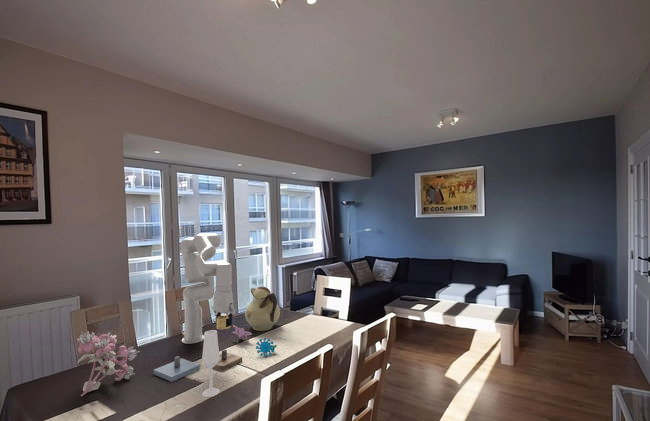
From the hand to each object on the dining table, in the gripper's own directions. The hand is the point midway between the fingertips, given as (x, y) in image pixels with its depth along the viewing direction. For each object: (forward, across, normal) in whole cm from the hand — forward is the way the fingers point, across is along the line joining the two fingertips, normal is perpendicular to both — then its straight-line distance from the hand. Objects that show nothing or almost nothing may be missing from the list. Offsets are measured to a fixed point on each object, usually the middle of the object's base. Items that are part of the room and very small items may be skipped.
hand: (223, 324), depth 156 cm
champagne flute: (+18, +18, -21) cm, 33 cm away
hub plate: (+19, -12, -17) cm, 28 cm away
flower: (+19, -26, -38) cm, 50 cm away
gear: (+19, +11, +18) cm, 28 cm away
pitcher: (+19, -20, +49) cm, 56 cm away
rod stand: (+18, 0, 0) cm, 18 cm away
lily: (+19, -14, +24) cm, 34 cm away
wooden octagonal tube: (+1, 0, 0) cm, 1 cm away
